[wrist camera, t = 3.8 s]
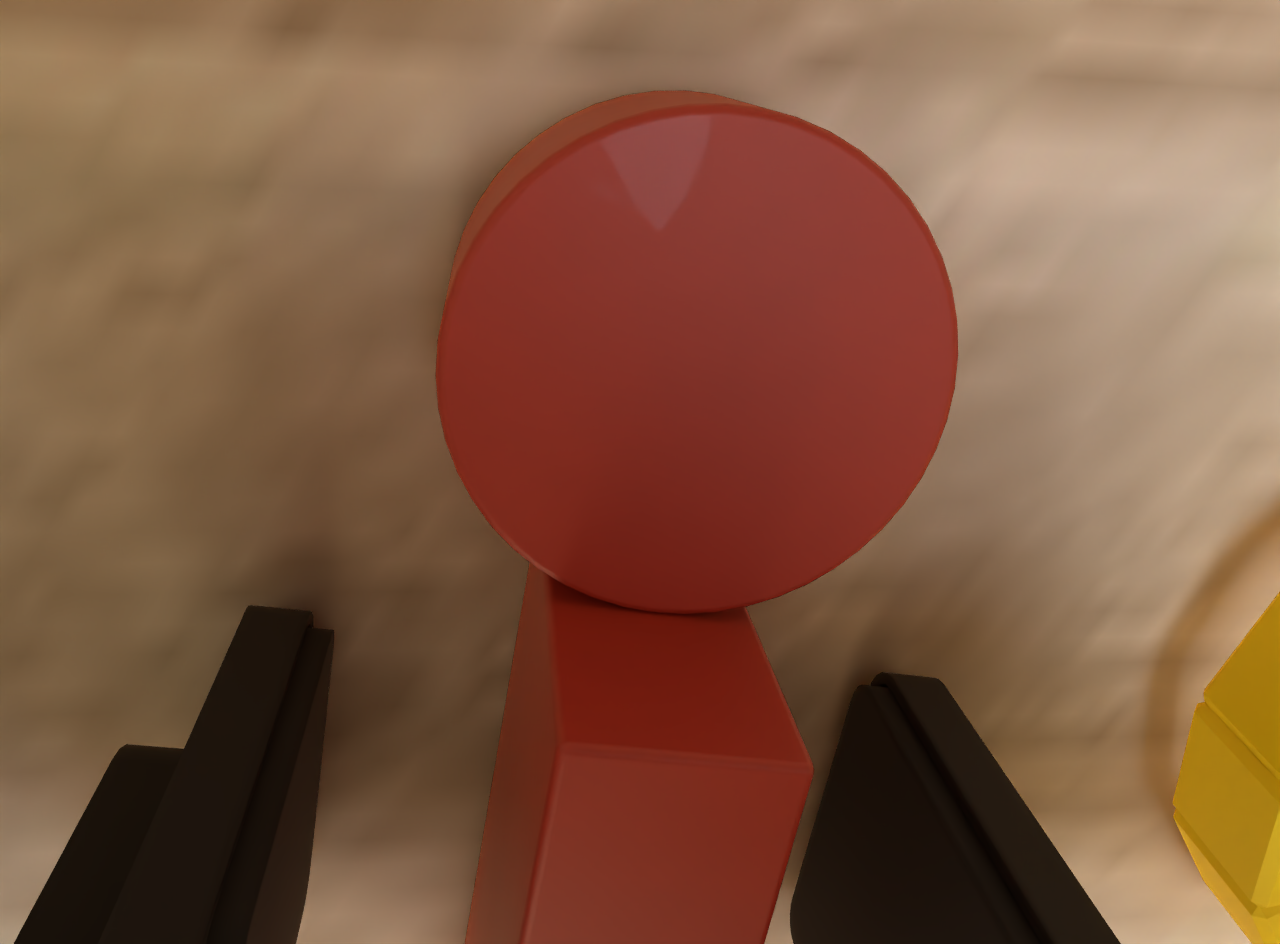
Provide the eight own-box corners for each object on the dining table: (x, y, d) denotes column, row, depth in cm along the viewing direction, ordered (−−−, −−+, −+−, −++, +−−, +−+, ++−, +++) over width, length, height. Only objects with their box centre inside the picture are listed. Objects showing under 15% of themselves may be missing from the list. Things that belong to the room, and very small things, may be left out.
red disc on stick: (479, 46, 8) (466, 55, 5) (929, 136, 9) (1178, 195, 6) (362, 957, 11) (305, 1333, 8) (704, 975, 12) (780, 1330, 9)
